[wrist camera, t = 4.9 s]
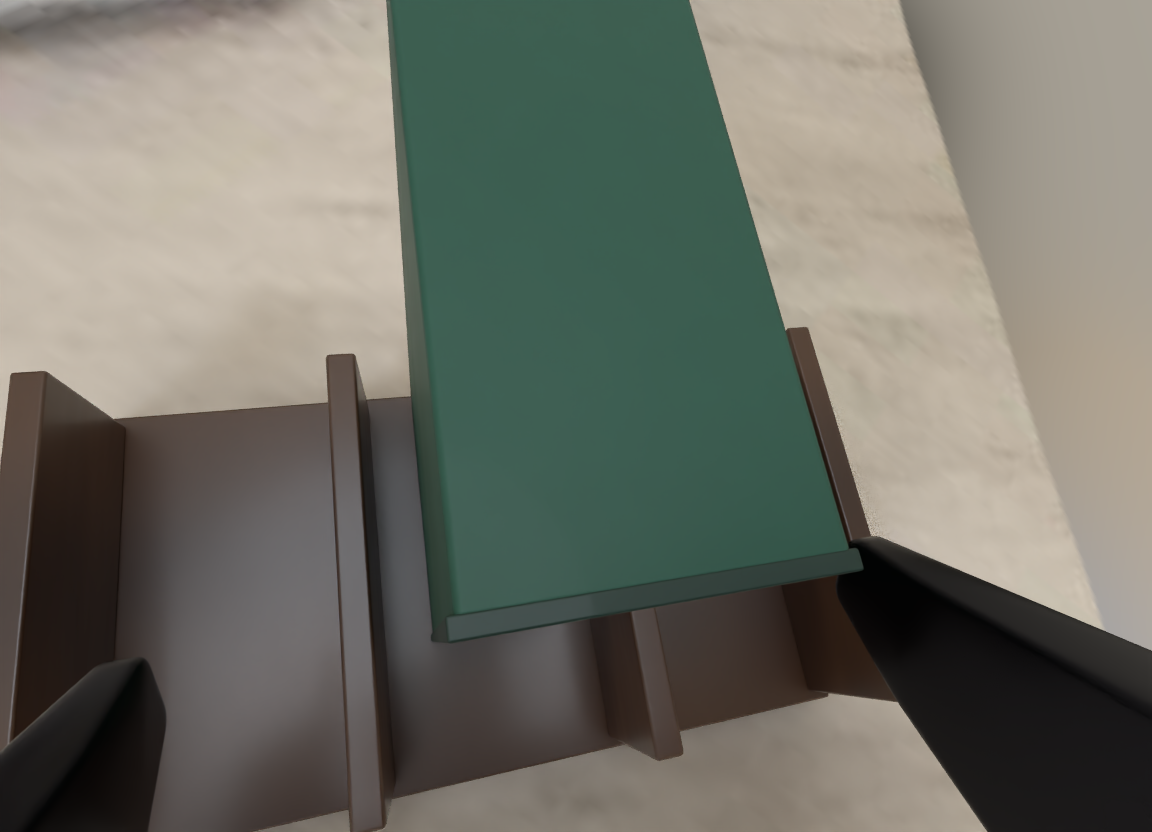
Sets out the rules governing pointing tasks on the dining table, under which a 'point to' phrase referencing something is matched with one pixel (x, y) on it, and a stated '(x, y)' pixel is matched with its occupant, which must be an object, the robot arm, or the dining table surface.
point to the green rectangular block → (590, 323)
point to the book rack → (348, 611)
